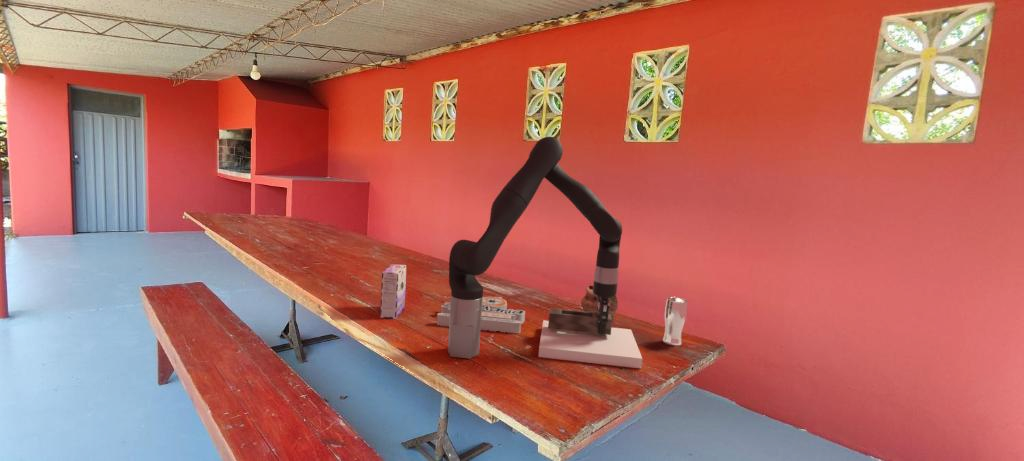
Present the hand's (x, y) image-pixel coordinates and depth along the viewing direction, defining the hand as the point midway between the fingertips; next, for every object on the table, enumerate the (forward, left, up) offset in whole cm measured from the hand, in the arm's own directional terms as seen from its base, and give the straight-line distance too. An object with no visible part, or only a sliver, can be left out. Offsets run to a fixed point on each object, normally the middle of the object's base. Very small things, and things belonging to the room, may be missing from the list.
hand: (600, 330), depth 160 cm
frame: (0, +7, 0) cm, 7 cm away
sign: (+16, +41, -5) cm, 44 cm away
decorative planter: (+20, -1, -5) cm, 21 cm away
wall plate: (-4, +4, -5) cm, 7 cm away
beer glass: (+9, -25, -5) cm, 27 cm away
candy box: (+9, +73, -5) cm, 74 cm away
